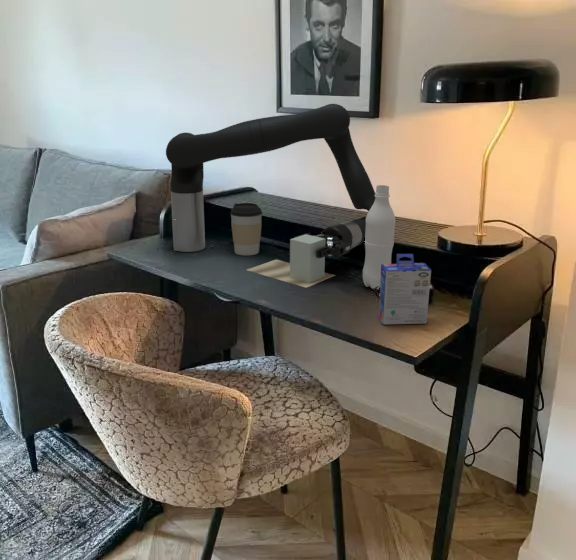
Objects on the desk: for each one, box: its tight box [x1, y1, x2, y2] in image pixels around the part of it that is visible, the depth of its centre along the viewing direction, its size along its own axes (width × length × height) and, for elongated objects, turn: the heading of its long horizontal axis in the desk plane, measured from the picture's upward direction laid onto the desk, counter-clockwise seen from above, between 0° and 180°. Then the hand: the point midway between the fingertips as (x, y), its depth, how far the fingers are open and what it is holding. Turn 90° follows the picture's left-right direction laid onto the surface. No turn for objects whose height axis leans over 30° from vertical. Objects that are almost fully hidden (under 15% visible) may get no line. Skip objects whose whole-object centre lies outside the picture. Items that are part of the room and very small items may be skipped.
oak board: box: [246, 259, 336, 288], centre depth 156 cm, size 20×12×5 cm, turn 50°
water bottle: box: [362, 184, 396, 290], centre depth 147 cm, size 7×7×25 cm
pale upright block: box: [289, 233, 326, 283], centre depth 151 cm, size 6×6×10 cm
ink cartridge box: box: [378, 253, 432, 325], centre depth 129 cm, size 10×6×14 cm, turn 95°
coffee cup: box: [229, 202, 263, 256], centre depth 171 cm, size 9×9×15 cm
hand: (303, 250), depth 149 cm, fingers open, 8 cm apart
